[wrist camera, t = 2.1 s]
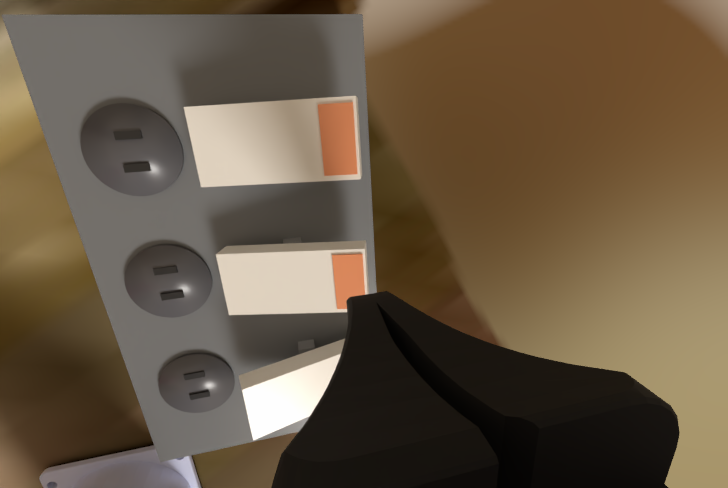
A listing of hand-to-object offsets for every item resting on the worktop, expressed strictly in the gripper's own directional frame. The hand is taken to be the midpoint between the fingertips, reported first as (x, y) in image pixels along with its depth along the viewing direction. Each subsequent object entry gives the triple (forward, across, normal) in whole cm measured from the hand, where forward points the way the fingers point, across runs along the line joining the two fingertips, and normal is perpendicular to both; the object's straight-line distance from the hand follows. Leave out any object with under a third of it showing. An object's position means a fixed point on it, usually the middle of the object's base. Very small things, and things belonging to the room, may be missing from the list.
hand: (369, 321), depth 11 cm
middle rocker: (+4, +2, 0) cm, 5 cm away
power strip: (+9, +4, 0) cm, 10 cm away
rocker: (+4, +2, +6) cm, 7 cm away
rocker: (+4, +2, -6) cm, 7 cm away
